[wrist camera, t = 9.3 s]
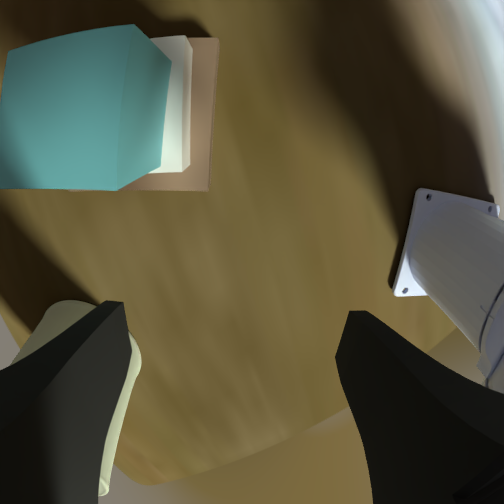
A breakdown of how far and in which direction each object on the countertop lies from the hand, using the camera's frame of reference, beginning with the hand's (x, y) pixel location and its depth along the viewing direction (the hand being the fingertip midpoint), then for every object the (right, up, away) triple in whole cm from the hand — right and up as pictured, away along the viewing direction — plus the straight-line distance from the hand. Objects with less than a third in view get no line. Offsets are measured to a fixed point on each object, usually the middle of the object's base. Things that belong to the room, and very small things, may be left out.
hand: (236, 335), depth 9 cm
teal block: (-5, +8, +1) cm, 10 cm away
